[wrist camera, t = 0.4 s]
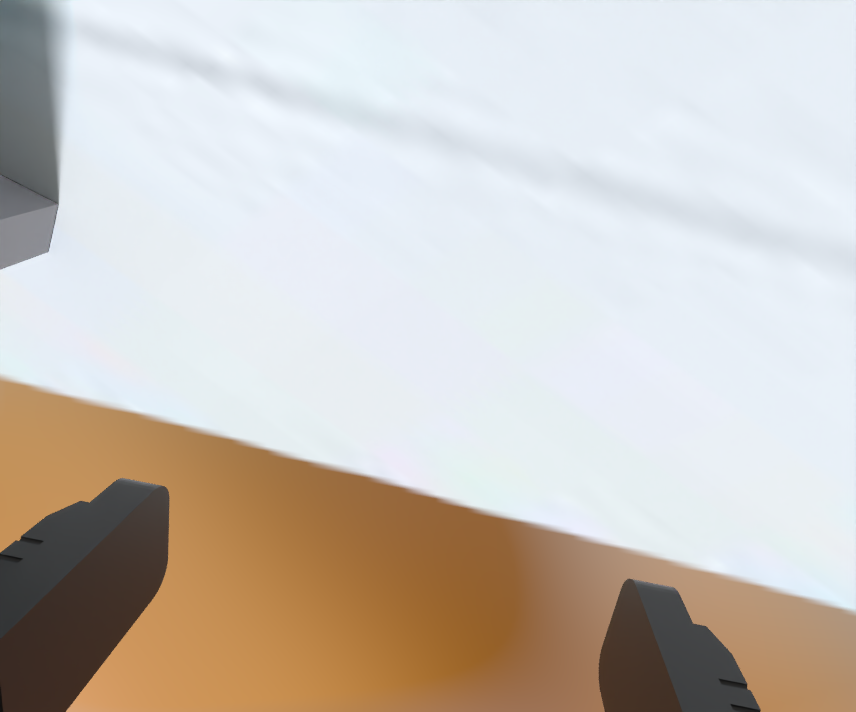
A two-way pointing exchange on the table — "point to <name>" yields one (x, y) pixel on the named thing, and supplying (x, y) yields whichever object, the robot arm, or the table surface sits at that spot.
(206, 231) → the table surface
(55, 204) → the wall board
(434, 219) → the table surface
